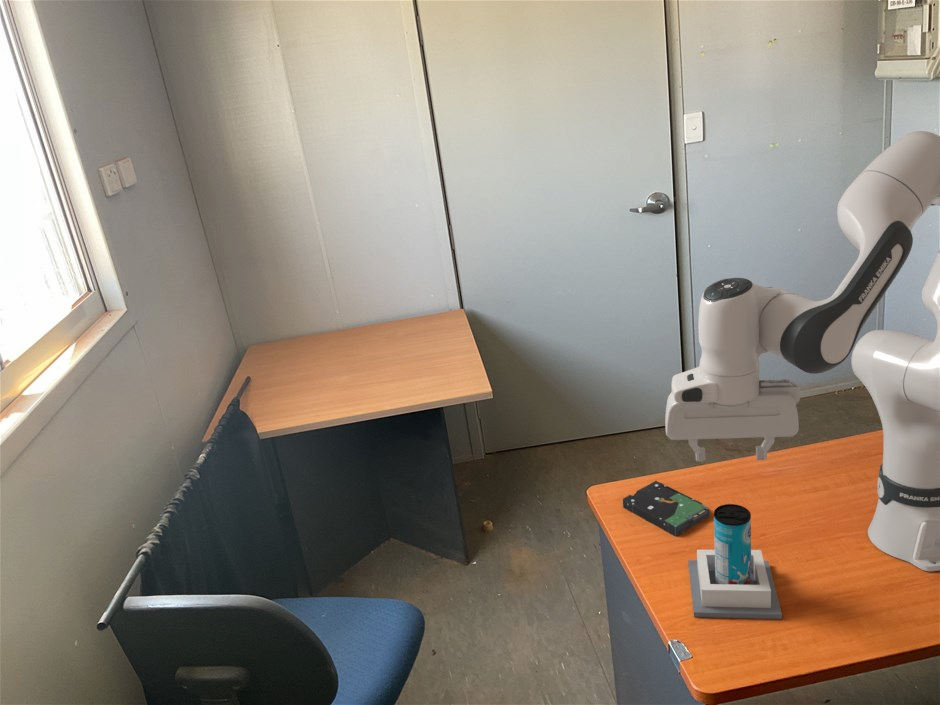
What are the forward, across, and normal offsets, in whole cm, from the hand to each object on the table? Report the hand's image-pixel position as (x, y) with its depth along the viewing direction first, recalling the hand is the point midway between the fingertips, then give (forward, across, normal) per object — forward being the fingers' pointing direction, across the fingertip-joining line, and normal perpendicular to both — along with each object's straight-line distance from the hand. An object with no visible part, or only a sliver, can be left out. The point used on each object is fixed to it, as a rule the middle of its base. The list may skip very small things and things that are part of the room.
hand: (730, 458), depth 125 cm
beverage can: (+26, 0, 0) cm, 26 cm away
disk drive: (+27, +10, -24) cm, 38 cm away
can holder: (+26, 0, 0) cm, 27 cm away
